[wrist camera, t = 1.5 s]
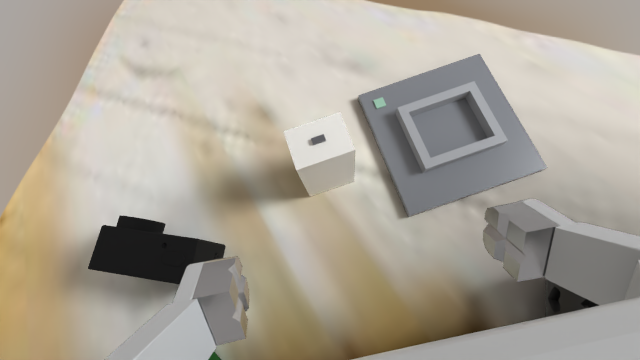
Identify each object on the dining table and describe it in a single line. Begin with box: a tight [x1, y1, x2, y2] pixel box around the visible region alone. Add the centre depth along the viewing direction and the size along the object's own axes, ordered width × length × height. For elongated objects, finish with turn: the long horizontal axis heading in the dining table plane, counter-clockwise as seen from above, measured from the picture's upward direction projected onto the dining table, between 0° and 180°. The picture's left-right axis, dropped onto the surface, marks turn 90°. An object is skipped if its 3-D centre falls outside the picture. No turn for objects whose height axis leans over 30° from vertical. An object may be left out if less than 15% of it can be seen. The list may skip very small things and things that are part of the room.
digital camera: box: [88, 216, 225, 284], centre depth 33 cm, size 10×5×7 cm, turn 82°
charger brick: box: [284, 112, 355, 197], centre depth 33 cm, size 6×4×10 cm
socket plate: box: [358, 54, 547, 217], centre depth 36 cm, size 16×16×2 cm
